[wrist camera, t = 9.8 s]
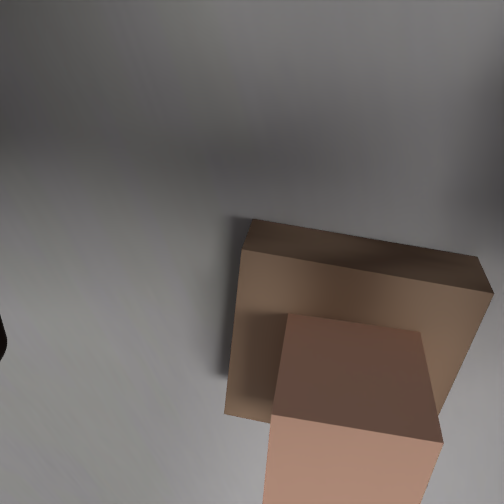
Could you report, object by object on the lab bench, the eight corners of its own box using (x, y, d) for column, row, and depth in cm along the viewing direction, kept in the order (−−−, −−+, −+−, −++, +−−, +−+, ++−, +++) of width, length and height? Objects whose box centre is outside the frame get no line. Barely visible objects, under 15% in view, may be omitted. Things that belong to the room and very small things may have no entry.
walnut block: (474, 250, 19) (494, 293, 17) (412, 402, 24) (420, 454, 21) (254, 213, 20) (241, 249, 17) (236, 368, 25) (224, 413, 22)
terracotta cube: (420, 331, 18) (443, 443, 14) (393, 421, 20) (406, 539, 16) (288, 313, 19) (271, 414, 14) (278, 402, 21) (261, 511, 17)
